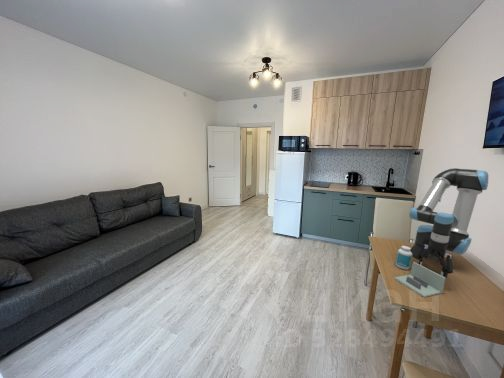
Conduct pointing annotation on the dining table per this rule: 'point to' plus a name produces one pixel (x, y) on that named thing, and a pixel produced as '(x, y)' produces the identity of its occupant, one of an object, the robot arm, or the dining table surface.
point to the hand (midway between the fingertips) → (430, 276)
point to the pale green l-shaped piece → (423, 281)
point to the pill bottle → (404, 258)
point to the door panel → (432, 265)
